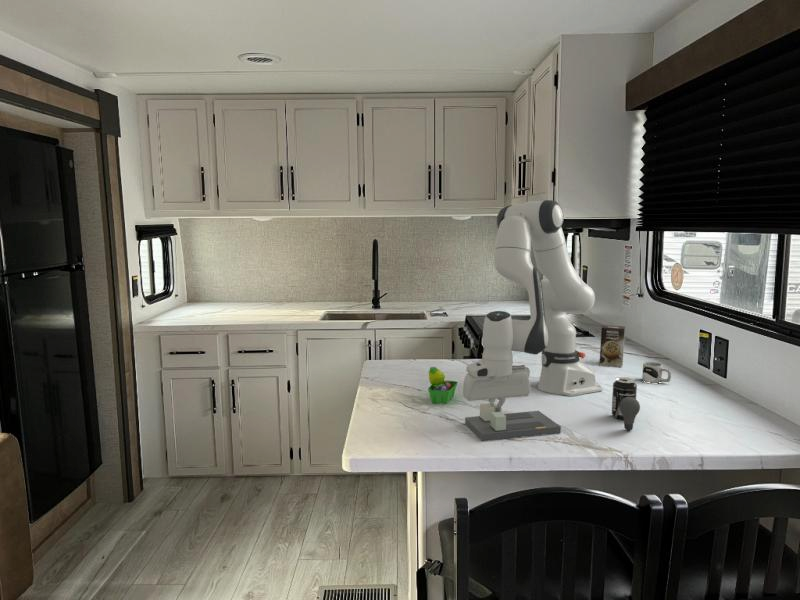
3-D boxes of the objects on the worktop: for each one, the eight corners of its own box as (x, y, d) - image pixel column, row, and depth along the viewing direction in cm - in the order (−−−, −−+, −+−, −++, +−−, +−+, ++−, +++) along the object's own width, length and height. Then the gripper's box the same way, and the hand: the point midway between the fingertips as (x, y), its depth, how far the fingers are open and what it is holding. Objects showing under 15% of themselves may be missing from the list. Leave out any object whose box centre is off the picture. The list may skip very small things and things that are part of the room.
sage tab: (500, 424, 171) (500, 411, 171) (505, 429, 167) (506, 416, 167) (490, 425, 170) (490, 412, 170) (495, 430, 167) (496, 417, 166)
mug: (639, 381, 220) (640, 364, 219) (646, 377, 225) (647, 360, 224) (667, 387, 214) (668, 369, 213) (673, 383, 219) (674, 365, 218)
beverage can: (615, 412, 188) (617, 375, 186) (638, 416, 183) (640, 379, 182) (608, 418, 182) (609, 380, 181) (630, 423, 178) (632, 384, 176)
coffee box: (599, 365, 243) (600, 327, 240) (600, 362, 249) (601, 324, 246) (622, 367, 239) (624, 328, 237) (623, 364, 245) (625, 325, 243)
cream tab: (489, 415, 179) (489, 403, 178) (494, 420, 175) (494, 407, 174) (479, 416, 178) (479, 403, 177) (484, 421, 174) (484, 408, 174)
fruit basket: (449, 406, 195) (449, 372, 193) (423, 403, 198) (423, 370, 196) (458, 395, 205) (458, 364, 204) (433, 393, 208) (433, 362, 207)
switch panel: (538, 416, 184) (538, 410, 184) (560, 433, 170) (560, 426, 170) (465, 423, 178) (465, 417, 178) (482, 441, 165) (482, 433, 165)
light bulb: (640, 434, 169) (642, 400, 167) (620, 433, 170) (621, 399, 168) (636, 427, 174) (638, 394, 173) (616, 426, 175) (618, 393, 174)
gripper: (525, 362, 180) (523, 405, 182) (461, 366, 175) (460, 411, 177) (534, 367, 174) (533, 412, 176) (468, 372, 169) (468, 418, 171)
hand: (496, 412), depth 177 cm, fingers closed
